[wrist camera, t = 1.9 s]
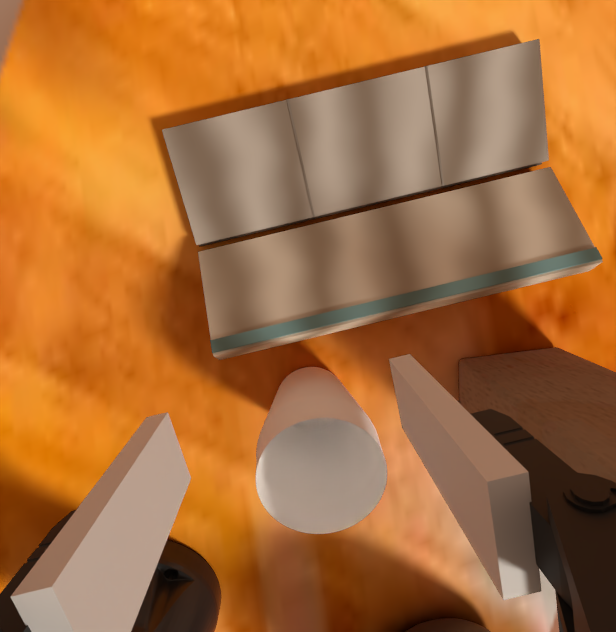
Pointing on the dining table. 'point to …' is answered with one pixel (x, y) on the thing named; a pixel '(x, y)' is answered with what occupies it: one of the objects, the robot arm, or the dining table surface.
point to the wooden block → (550, 402)
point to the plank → (392, 262)
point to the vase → (448, 626)
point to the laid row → (361, 143)
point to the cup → (318, 456)
